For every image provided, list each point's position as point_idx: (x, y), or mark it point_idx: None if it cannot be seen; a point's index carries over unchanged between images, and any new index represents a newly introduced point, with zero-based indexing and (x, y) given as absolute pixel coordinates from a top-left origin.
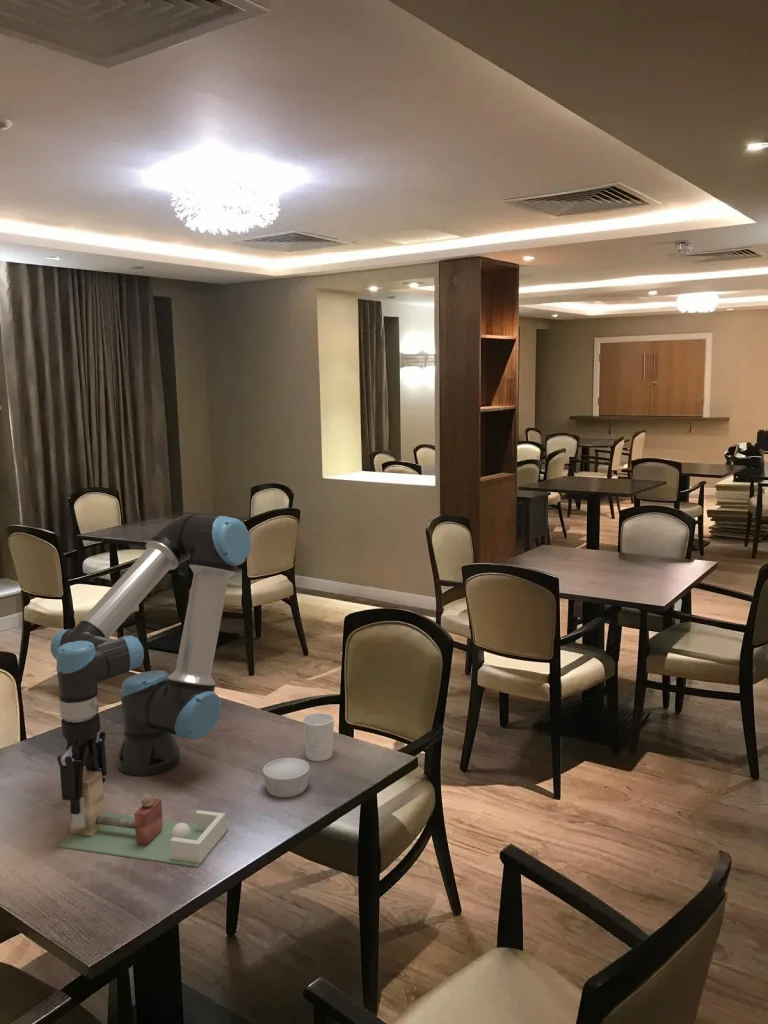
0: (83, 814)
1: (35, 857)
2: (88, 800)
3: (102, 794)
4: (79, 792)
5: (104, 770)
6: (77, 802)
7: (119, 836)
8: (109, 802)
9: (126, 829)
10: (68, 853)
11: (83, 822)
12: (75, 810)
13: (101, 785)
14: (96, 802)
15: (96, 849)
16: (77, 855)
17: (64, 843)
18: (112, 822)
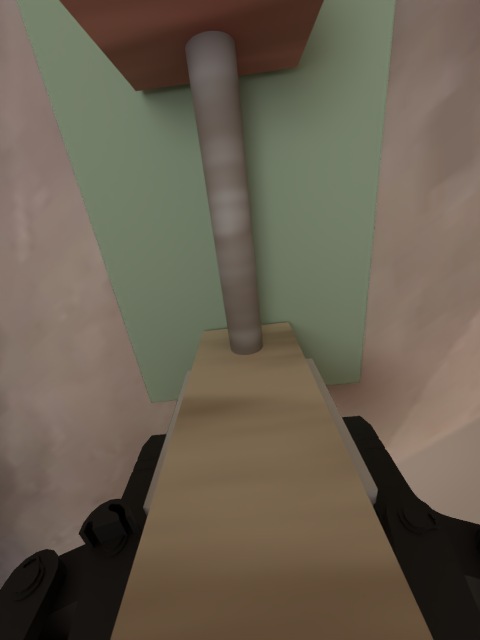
0: (327, 397)
1: (416, 397)
2: (341, 443)
3: (183, 424)
4: (436, 569)
5: (11, 627)
6: (388, 481)
7: (253, 220)
8: (86, 405)
9: (198, 228)
10: (385, 328)
11: (318, 372)
12: (378, 441)
13: (170, 492)
14: (252, 403)
15: (360, 246)
16: (394, 292)
17: (343, 373)
18: (253, 265)
